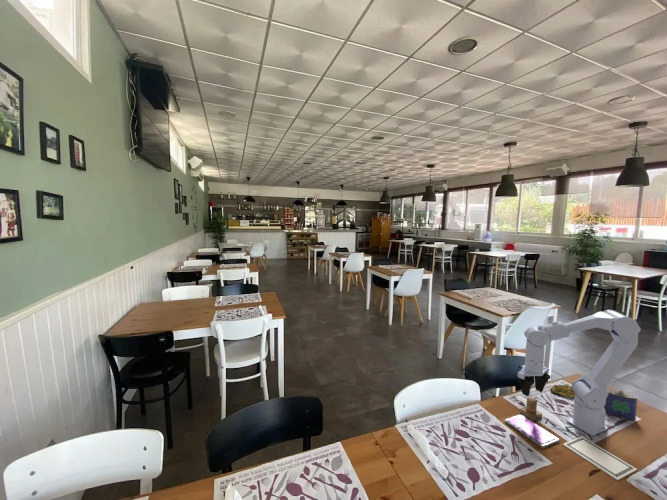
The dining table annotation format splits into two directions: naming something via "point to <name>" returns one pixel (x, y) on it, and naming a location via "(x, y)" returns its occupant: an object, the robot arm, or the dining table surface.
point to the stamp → (531, 410)
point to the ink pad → (532, 431)
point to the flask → (621, 405)
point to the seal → (563, 391)
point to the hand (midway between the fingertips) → (532, 392)
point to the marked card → (600, 458)
